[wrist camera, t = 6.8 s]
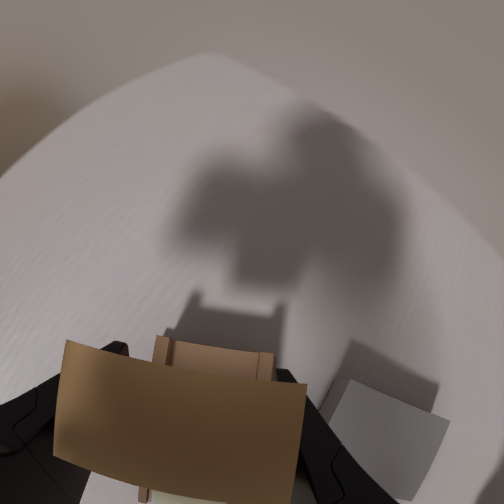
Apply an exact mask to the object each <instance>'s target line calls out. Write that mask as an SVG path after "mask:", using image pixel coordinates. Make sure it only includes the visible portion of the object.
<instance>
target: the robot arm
mask: <svg viewBox="0 0 504 504" xmlns="http://www.w3.org/2000/svg"><path fill="white" fill-rule="evenodd" d="M100 350H104V351H108V352H111V353H115V354H119V355H123V356H127V357H129V351H128V345H127V344H126V343H124V342H120V341H113V342H112V343H110V344H108V345H106V346H105V347H103V348H101V349H100ZM60 373H61V372H60ZM60 373H59V374H57V375H55V376H54V377H52V378H50V379H49V380H47V381H45V382H43V383H42V384H40V385H38V386H37V387H35V388H33V389H31V390H29V391H28V392H26V393H24V394H22V395H20V396H19V397H17V398H15V399H13V400H11V401H8V402H6V403H4V404H2V405H0V504H79V503H80V500H81V497H82V495H83V492H84V489H85V486H86V484H87V481H88V478H89V476H90V473H91V471H90V470H87V469H85V468H82V467H80V466H77V465H75V464H72V463H70V462H67V461H65V460H63V459H61V458H58V457H56V456H54V455H53V446H54V428H55V415H56V405H57V396H58V388H59V380H60ZM271 381H276V382H287V383H298V382H297V381H296V379H295V378H294V377H293V375H292V374H291V372H290V371H289V370H288V369H281V368H276V369H275V370H274V373H273V377H272V380H271ZM290 504H400V503H398V502H397V501H396V500H395V499H393V498H392V497H391V496H390V495H389V494H388V493H387V492H386V491H385V490H384V489H383V488H382V487H381V486H380V485H379V484H378V483H377V482H376V481H375V480H374V479H373V478H372V477H371V476H370V475H369V474H368V473H367V472H366V471H365V470H364V469H363V468H362V467H361V466H360V465H359V464H358V462H357V461H356V460H355V459H354V458H353V456H352V455H351V454H350V453H349V451H348V450H347V449H346V447H345V446H344V445H342V442H341V441H340V440H339V438H338V437H337V436H336V434H335V433H334V432H333V430H332V429H331V428H330V426H329V425H328V424H327V422H326V421H325V419H324V418H323V417H322V415H321V414H320V413H319V411H318V410H317V409H316V407H315V406H314V404H313V403H312V402H311V400H310V399H309V398H308V396H307V395H306V401H305V409H304V417H303V425H302V432H301V439H300V446H299V453H298V460H297V466H296V472H295V478H294V484H293V490H292V495H291V501H290Z"/></svg>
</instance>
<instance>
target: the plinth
mask: <svg viewBox="0 0 504 504" xmlns="http://www.w3.org/2000/svg"><path fill="white" fill-rule="evenodd" d="M319 413H320V414H321V415H322V417H323V418H324V419H325V421H326V422H327V424H328V425H329V426H330V428H331V429H332V430H333V432H334V433H335V434H336V436H337V437H338V438H339V440H340V441H341V442H342V445H344V446H345V447H346V449H347V450H348V451H349V453H350V454H351V455H352V456H353V458H354V459H355V460H356V461H357V462H358V464H359V465H360V466H361V467H362V468H363V469H364V470H365V471H366V472H367V473H368V474H369V475H370V476H371V477H372V478H373V479H374V480H375V481H376V482H377V483H378V484H379V485H380V486H381V487H382V488H383V489H384V490H385V491H386V492H387V493H388V494H389V495H390V496H391V497H392V498H397V499H402V500H408V501H412V500H413V498H414V496H415V495H416V493H417V491H418V489H419V488H420V486H421V484H422V482H423V480H424V478H425V476H426V474H427V472H428V470H429V468H430V466H431V464H432V462H433V460H434V458H435V456H436V454H437V452H438V450H439V447H440V445H441V443H442V440H443V438H444V436H445V433H446V431H447V428H448V426H449V423H450V421H449V420H447V419H444V418H442V417H439V416H436V415H434V414H431V413H429V412H426V411H424V410H421V409H419V408H417V407H414V406H412V405H409V404H407V403H405V402H402V401H400V400H397V399H395V398H393V397H390V396H388V395H386V394H384V393H381V392H379V391H377V390H375V389H372V388H370V387H368V386H366V385H364V384H361V383H359V382H357V381H355V380H353V379H335V380H334V383H333V385H332V387H331V389H330V391H329V393H328V395H327V397H326V399H325V401H324V403H323V405H322V406H321V408H320V410H319Z"/></svg>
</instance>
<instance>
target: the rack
mask: <svg viewBox="0 0 504 504" xmlns="http://www.w3.org/2000/svg"><path fill="white" fill-rule="evenodd" d="M273 356H274V353H267V352H259V353H255V352H247V351H239V350H232V349H225V348H219V347H212V346H206V345H200V344H194V343H188V342H183V341H177V340H172V339H171V338H169V337H164V336H159V335H157V336H156V341H155V347H154V353H153V359H152V362H153V363H158V364H163V365H168V366H173V367H178V368H183V369H188V370H194V371H200V372H206V373H212V374H219V375H226V376H233V377H240V378H248V379H257V380H266V381H271V380H272V377H273V373H274V368H275V359H276V357H273ZM138 502H141V503H145V504H146V503H147V502H152V503H153V504H234V503H224V502H216V501H208V500H201V499H195V498H189V497H184V496H178V495H173V494H169V493H164V492H160V491H155V490H151V489H147V488H143V487H140V486H139V494H138Z"/></svg>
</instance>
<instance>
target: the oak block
mask: <svg viewBox="0 0 504 504" xmlns="http://www.w3.org/2000/svg"><path fill="white" fill-rule="evenodd" d="M306 392H307V384H300V383H287V382H276V381H266V380H257V379H248V378H240V377H233V376H226V375H219V374H212V373H206V372H200V371H194V370H188V369H183V368H178V367H173V366H168V365H163V364H158V363H153V362H149V361H144V360H140V359H136V358H131V357H127V356H123V355H119V354H115V353H111V352H108V351H104V350H100V349H97V348H93V347H90V346H86V345H83V344H79V343H76V342H73V341H70V340H67V339H66V344H65V349H64V355H63V361H62V367H61V373H60V380H59V388H58V396H57V405H56V415H55V428H54V446H53V455H54V456H56V457H58V458H61V459H63V460H65V461H67V462H70V463H72V464H75V465H77V466H80V467H82V468H85V469H87V470H90V471H93V472H95V473H98V474H101V475H104V476H107V477H110V478H113V479H116V480H119V481H122V482H126V483H129V484H132V485H136V486H140V487H143V488H147V489H151V490H155V491H160V492H164V493H169V494H173V495H178V496H184V497H189V498H195V499H201V500H208V501H216V502H224V503H234V504H290V501H291V495H292V490H293V484H294V478H295V472H296V466H297V460H298V453H299V446H300V439H301V432H302V425H303V417H304V409H305V401H306Z"/></svg>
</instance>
